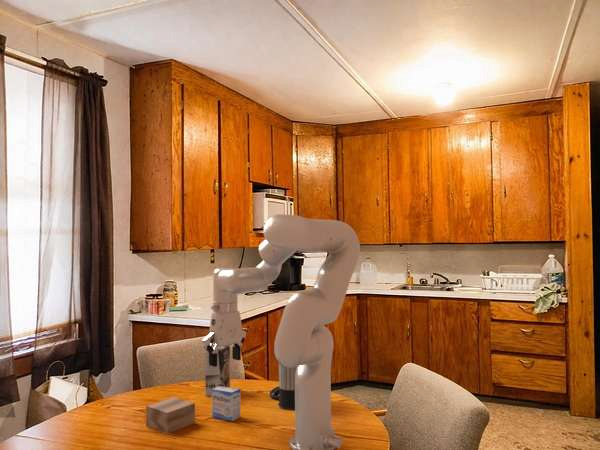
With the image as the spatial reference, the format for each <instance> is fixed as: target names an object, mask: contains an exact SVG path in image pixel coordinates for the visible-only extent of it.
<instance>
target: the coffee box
mask: <svg viewBox="0 0 600 450" xmlns="http://www.w3.org/2000/svg"><path fill="white" fill-rule="evenodd" d="M230 346H231V345H227V346H222V347H221V346H219V348H218V349H217V351H216V353H217V367H214V366H210V365H209V353H208V352H207V350H206V349H205V351H204V353H205V357H204V358H205V366H204V369H205V370H204V371H205V373H204V374H205V377H204V379H205V380H204V383H205V384H204V386H205V387H204V388H205V389H204V391H205V392H204V393H205V394H204V395H205V396H209V397H210V396H211V397H212V390H213V389H214V388H216V387H219V386H222V387H229V388H231V349H230V348H231V347H230ZM213 348H214V347H213Z"/></svg>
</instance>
